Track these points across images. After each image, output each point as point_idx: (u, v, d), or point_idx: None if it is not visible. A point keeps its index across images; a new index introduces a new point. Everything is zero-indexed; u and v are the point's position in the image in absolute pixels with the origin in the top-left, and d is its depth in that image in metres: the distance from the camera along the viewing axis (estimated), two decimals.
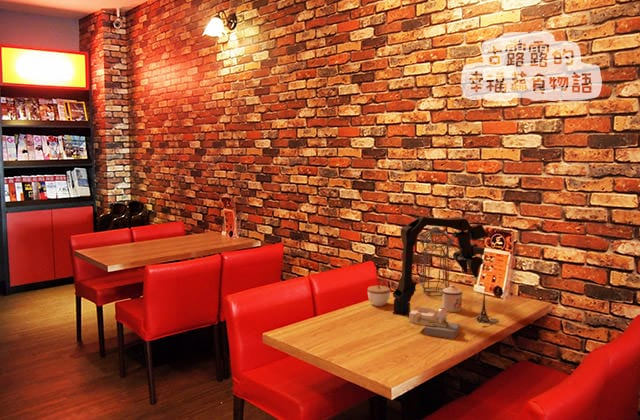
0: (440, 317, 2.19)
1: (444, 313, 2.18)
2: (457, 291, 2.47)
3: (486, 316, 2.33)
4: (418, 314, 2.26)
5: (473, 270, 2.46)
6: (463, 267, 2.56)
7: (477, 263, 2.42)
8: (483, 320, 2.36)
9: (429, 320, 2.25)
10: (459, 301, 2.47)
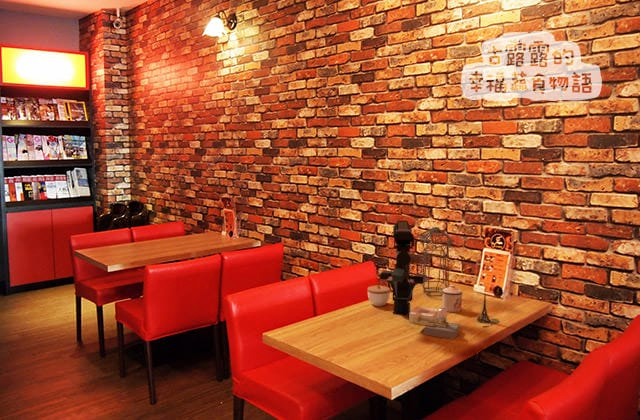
0: (440, 317, 2.19)
1: (444, 313, 2.18)
2: (457, 291, 2.47)
3: (487, 316, 2.33)
4: (418, 314, 2.26)
5: None
6: None
7: None
8: (484, 320, 2.36)
9: (429, 320, 2.25)
10: (459, 301, 2.47)
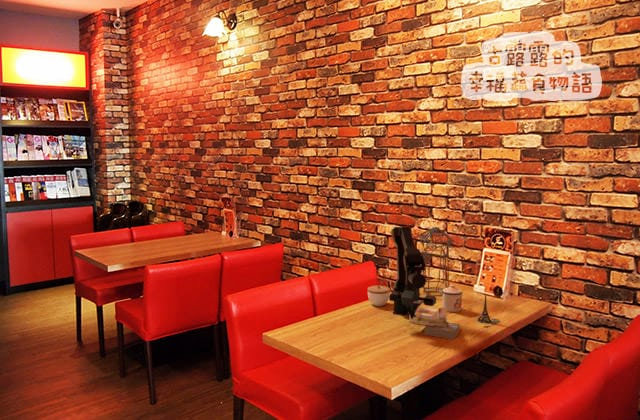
0: (440, 317, 2.19)
1: (444, 313, 2.18)
2: (457, 291, 2.47)
3: (487, 316, 2.33)
4: (418, 314, 2.26)
5: None
6: None
7: None
8: (484, 320, 2.35)
9: (429, 320, 2.25)
10: (459, 301, 2.47)
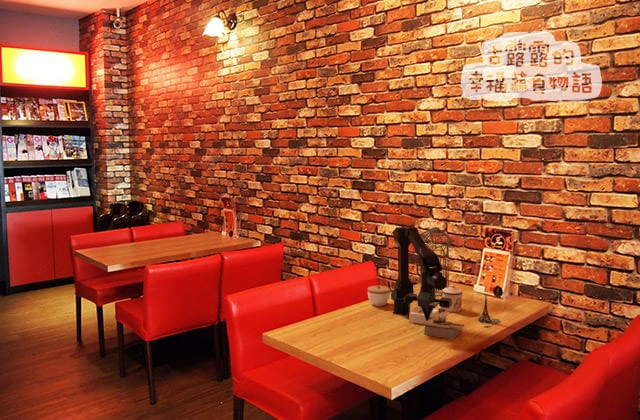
0: (440, 317, 2.19)
1: (444, 313, 2.18)
2: (457, 291, 2.47)
3: (488, 316, 2.33)
4: (433, 316, 2.23)
5: None
6: None
7: None
8: (485, 320, 2.35)
9: None
10: (459, 301, 2.47)
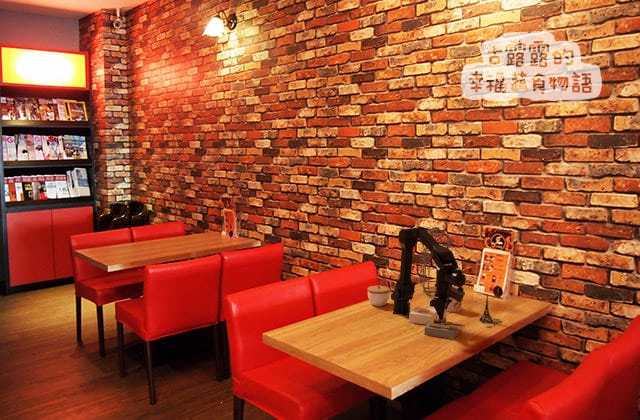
0: None
1: (444, 313, 2.18)
2: None
3: (489, 316, 2.33)
4: (434, 316, 2.23)
5: (437, 310, 2.17)
6: None
7: (436, 305, 2.11)
8: (486, 320, 2.35)
9: None
10: None
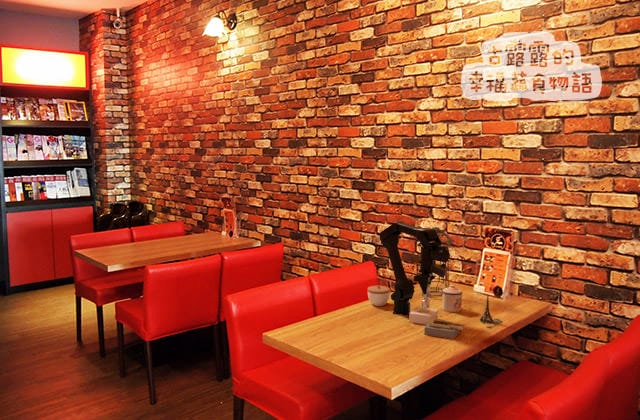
0: None
1: (428, 288, 2.31)
2: (457, 291, 2.47)
3: (490, 316, 2.33)
4: (434, 316, 2.23)
5: (421, 285, 2.30)
6: None
7: (419, 280, 2.24)
8: (486, 321, 2.35)
9: (445, 322, 2.22)
10: (459, 301, 2.47)
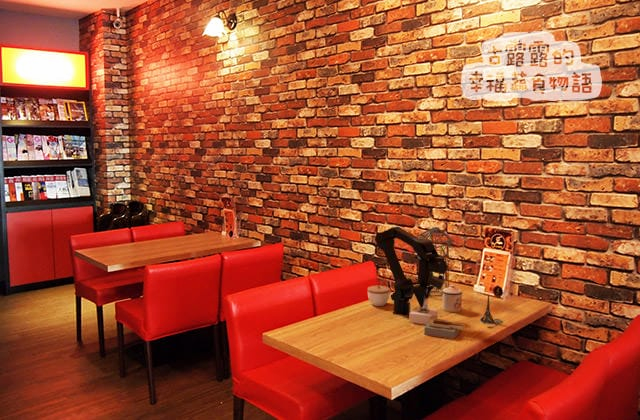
0: None
1: (425, 302, 2.34)
2: (457, 291, 2.47)
3: (490, 317, 2.33)
4: (434, 316, 2.23)
5: (418, 297, 2.31)
6: None
7: (417, 291, 2.26)
8: (487, 321, 2.35)
9: (445, 322, 2.22)
10: (459, 301, 2.47)
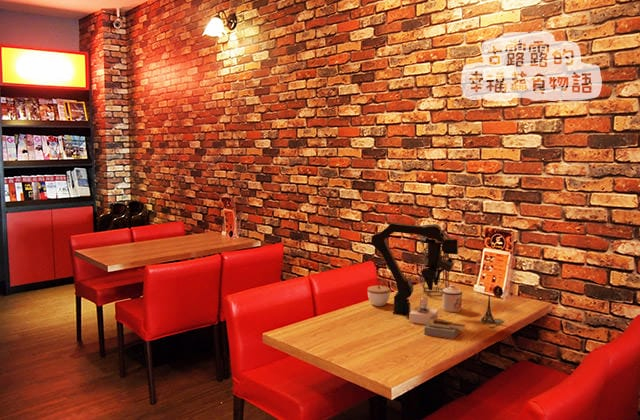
0: (421, 305, 2.34)
1: (425, 302, 2.34)
2: (457, 291, 2.47)
3: (491, 317, 2.33)
4: (434, 316, 2.23)
5: (427, 280, 2.36)
6: None
7: (427, 274, 2.32)
8: (488, 321, 2.35)
9: (445, 322, 2.22)
10: (459, 301, 2.47)
